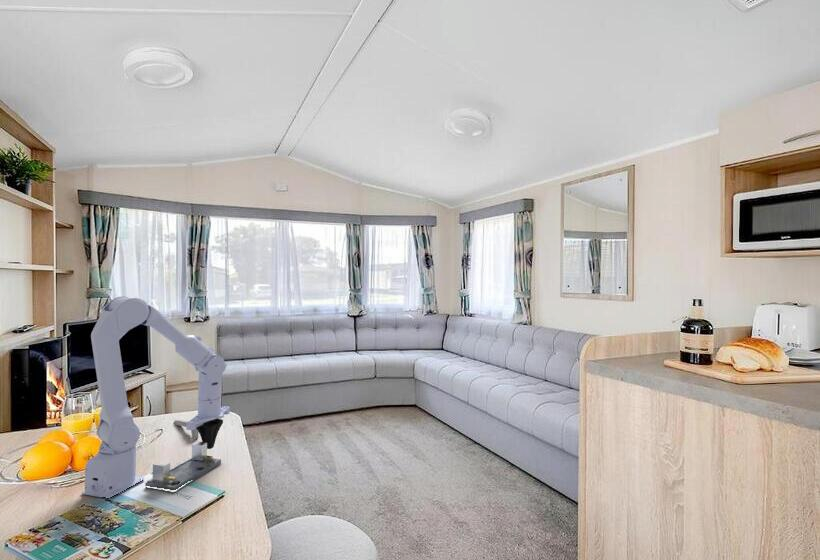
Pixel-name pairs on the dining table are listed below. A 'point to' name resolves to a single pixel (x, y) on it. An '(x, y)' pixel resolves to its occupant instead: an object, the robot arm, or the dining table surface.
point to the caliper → (184, 423)
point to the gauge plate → (180, 472)
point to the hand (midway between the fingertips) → (208, 447)
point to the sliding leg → (200, 451)
